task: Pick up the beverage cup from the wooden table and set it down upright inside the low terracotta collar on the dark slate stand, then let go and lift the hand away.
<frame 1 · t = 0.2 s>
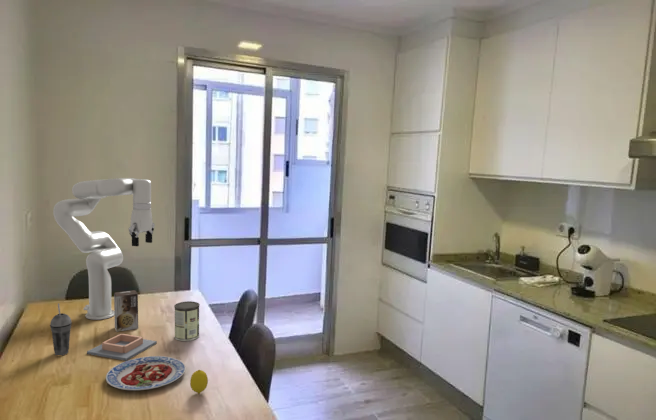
hand: (142, 244, 210), 37 cm above the table, tool pointing down, fingers open, 9 cm apart
collar stand: (122, 348, 184), on the table
coffee can: (186, 337, 199), on the table
beverage cup: (61, 353, 178), on the table
coffee box: (126, 328, 206), on the table
ceramic plate: (146, 377, 162), on the table
lemon: (198, 393, 152), on the table
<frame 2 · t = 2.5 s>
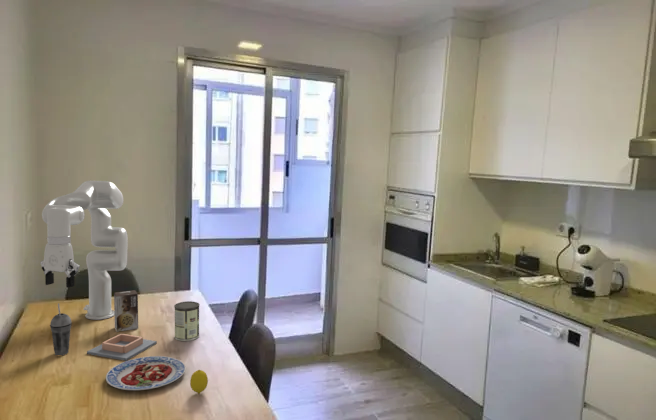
hand: (60, 285, 175), 27 cm above the table, tool pointing down, fingers open, 9 cm apart
nothing on the table moved.
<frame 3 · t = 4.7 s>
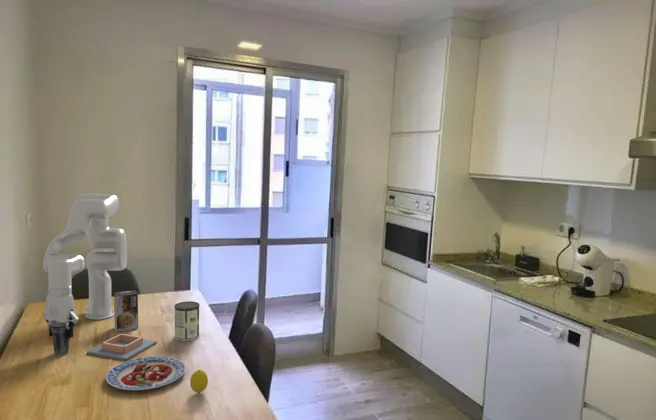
hand: (61, 336, 177), 7 cm above the table, tool pointing down, fingers closed on beverage cup, 6 cm apart
beverage cup: (61, 353, 178), on the table, touching gripper
everything else where it was.
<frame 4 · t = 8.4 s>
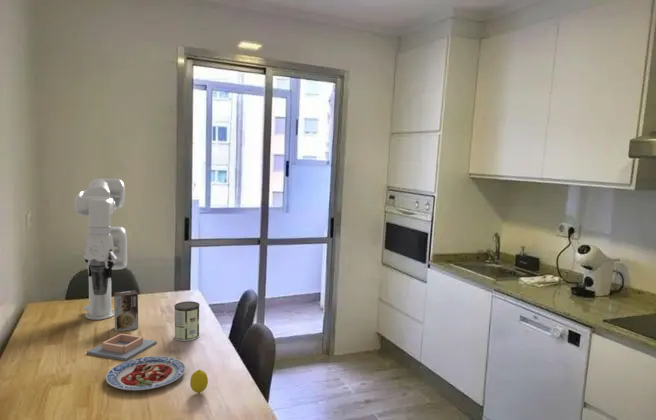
hand: (100, 276, 179), 30 cm above the table, tool pointing down, fingers closed on beverage cup, 6 cm apart
beverage cup: (100, 294, 180), point 23 cm above the table, touching gripper
everything else where it was.
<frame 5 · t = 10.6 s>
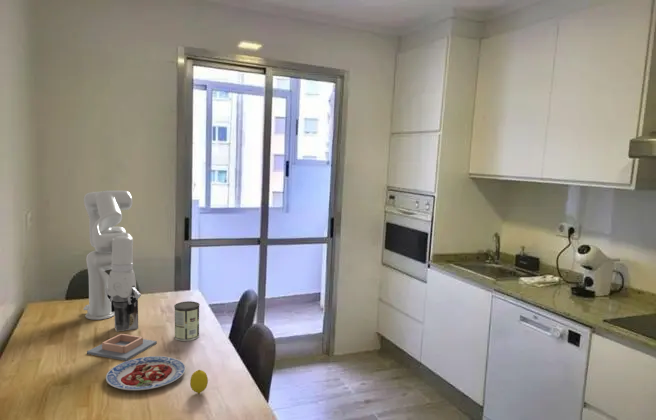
hand: (122, 311, 183), 15 cm above the table, tool pointing down, fingers closed on beverage cup, 6 cm apart
beverage cup: (122, 328, 183), point 8 cm above the table, touching gripper
everything else where it was.
when the fingers open (8 cm above the table, at t = 12.5 s): beverage cup stays where it is, resting on collar stand.
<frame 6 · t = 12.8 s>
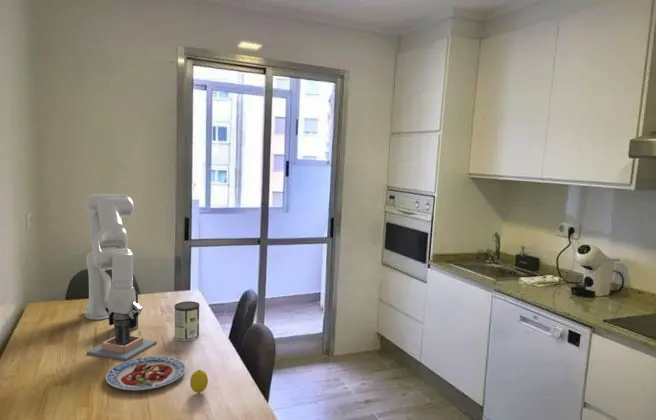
hand: (122, 325, 183), 9 cm above the table, tool pointing down, fingers open, 9 cm apart
beverage cup: (122, 346, 184), point 1 cm above the table, touching collar stand
everything else where it was.
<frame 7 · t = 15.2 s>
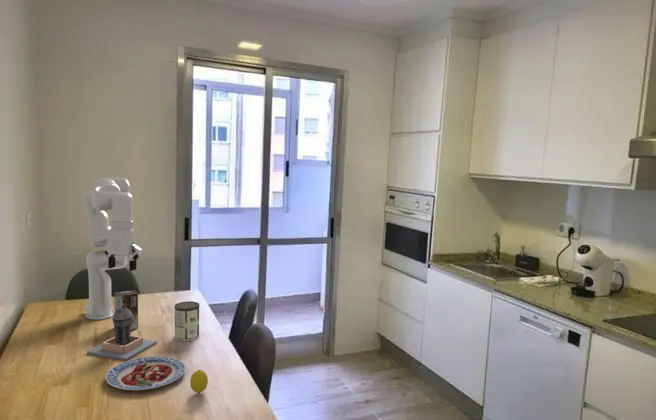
hand: (122, 268, 181), 32 cm above the table, tool pointing down, fingers open, 9 cm apart
nothing on the table moved.
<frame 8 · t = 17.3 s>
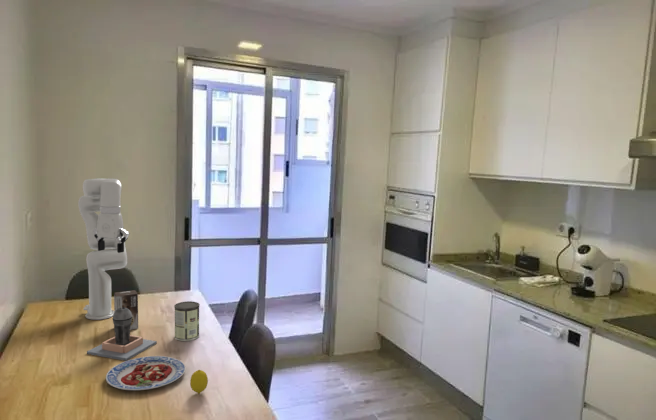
hand: (111, 251, 194), 36 cm above the table, tool pointing down, fingers open, 9 cm apart
nothing on the table moved.
at the end: beverage cup 0.2 cm off-centre on the collar stand, point 0.8 cm above the collar stand's base; beverage cup tilted 0°; the gripper is holding nothing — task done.
